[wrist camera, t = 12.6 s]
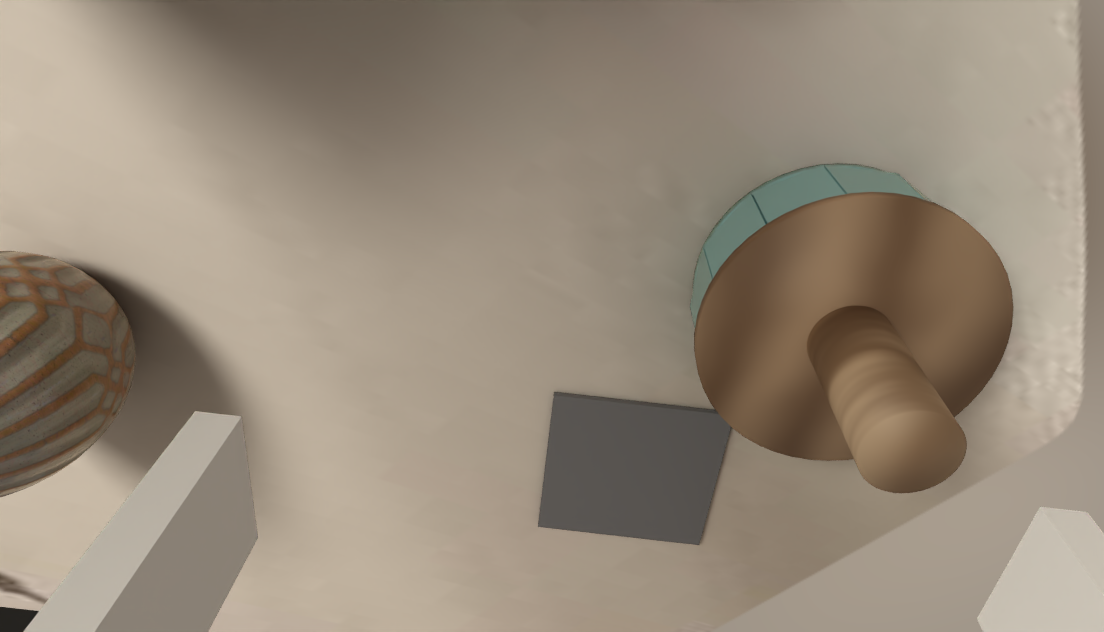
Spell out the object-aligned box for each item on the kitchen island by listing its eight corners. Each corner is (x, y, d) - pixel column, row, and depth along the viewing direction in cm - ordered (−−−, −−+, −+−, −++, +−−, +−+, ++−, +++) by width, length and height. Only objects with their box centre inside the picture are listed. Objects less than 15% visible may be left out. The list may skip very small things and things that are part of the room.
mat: (538, 522, 56) (538, 526, 56) (554, 391, 50) (553, 395, 50) (698, 541, 56) (699, 545, 56) (733, 412, 50) (734, 415, 50)
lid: (670, 435, 44) (686, 565, 36) (728, 174, 36) (767, 261, 28) (941, 465, 44) (1022, 603, 36) (1059, 211, 36) (1199, 310, 28)
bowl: (672, 373, 49) (680, 429, 44) (720, 149, 42) (737, 184, 36) (902, 399, 49) (936, 458, 44) (991, 179, 41) (1044, 219, 36)
